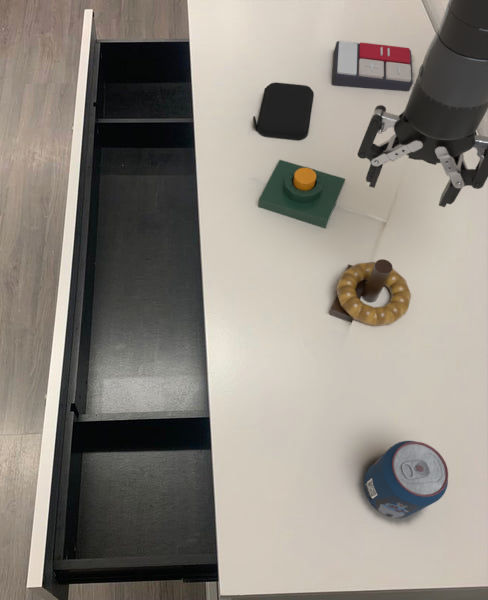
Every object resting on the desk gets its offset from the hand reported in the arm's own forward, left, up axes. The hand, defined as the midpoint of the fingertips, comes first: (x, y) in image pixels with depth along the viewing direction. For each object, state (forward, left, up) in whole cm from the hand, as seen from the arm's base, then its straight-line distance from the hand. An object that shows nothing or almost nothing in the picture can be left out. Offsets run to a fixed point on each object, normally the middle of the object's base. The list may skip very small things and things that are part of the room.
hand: (407, 192), depth 66 cm
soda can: (-11, +30, -20) cm, 38 cm away
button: (+15, -12, -16) cm, 25 cm away
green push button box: (+15, -12, -20) cm, 28 cm away
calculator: (+13, -48, -20) cm, 54 cm away
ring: (-1, +4, -17) cm, 17 cm away
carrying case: (+25, -30, -20) cm, 44 cm away
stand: (-1, +4, -20) cm, 20 cm away
